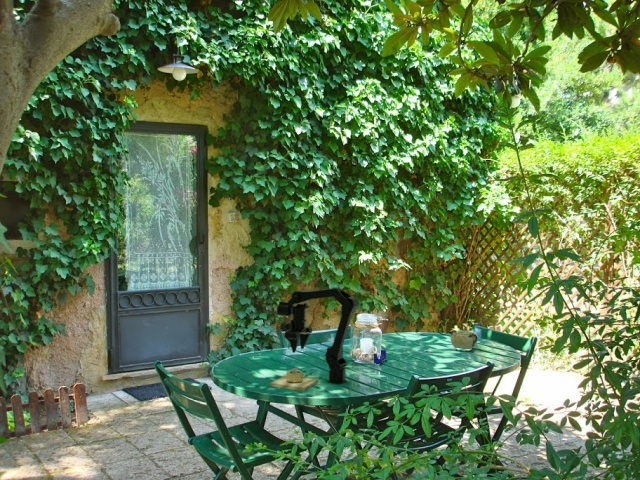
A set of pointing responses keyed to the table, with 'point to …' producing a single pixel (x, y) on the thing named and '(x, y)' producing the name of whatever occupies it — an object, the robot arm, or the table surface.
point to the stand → (294, 383)
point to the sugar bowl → (463, 338)
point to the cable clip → (382, 357)
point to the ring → (294, 376)
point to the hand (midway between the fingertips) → (298, 350)
